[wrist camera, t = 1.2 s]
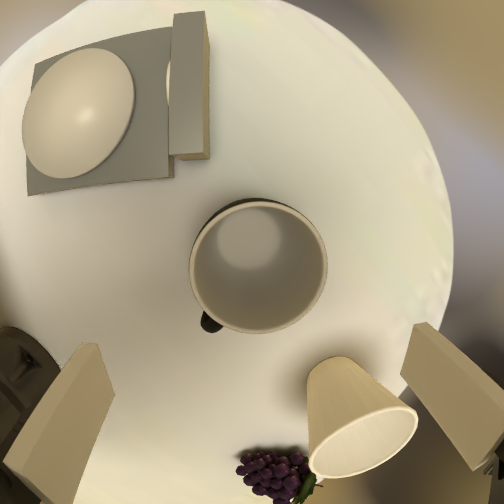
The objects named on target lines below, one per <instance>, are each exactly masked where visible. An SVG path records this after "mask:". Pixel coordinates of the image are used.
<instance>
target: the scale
mask: <svg viewBox="0 0 504 504" xmlns="http://www.w3.org/2000/svg"><path fill="white" fill-rule="evenodd" d="M22 139H23V145H24V149H25V151H26V166H27V192H28V196H32V195H38V194H44V193H50V192H55V191H61V190H67V189H74V188H80V187H87V186H94V185H101V184H109V183H117V182H126V181H135V180H145V179H156V178H168V177H174V157H176V158H179V159H182V160H199V159H210V152H209V39H208V32H207V24H206V17H205V11H198V12H187V13H178V14H174V19H173V27H165V28H158V29H152V30H146V31H141V32H136V33H131V34H126V35H122V36H118V37H114V38H110V39H106V40H102V41H99V42H95V43H92V44H88V45H85V46H82V47H79V48H76V49H73V50H70V51H67V52H64V53H62V54H59V55H56V56H54V57H51V58H49V59H46V60H44V61H42V62H39V63H37V64H35V68H34V74H33V80H32V87H31V94H30V96H29V99H28V101H27V104H26V107H25V111H24V115H23V121H22Z"/></svg>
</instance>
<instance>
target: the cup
mask: <svg viewBox="0 0 504 504" xmlns="http://www.w3.org/2000/svg"><path fill="white" fill-rule="evenodd" d="M307 402H308V430H309V462H308V465H309V467H310V470H311V471H312V472H313V473H315V474H316V475H318V476H321V477H325V478H342V477H349V476H353V475H356V474H359V473H363V472H365V471H367V470H370V469H372V468H374V467H376V466H378V465H380V464H382V463H383V462H385V461H387V460H388V459H389V458H391V457H392V456H393V455H395V454H396V453H397V452H398V451H399V450H401V448H403V447H404V446H405V445H406V444H407V442H408V441H409V440H410V438H411V437H412V436H413V434H414V432H415V430H416V428H417V424H418V416H417V413H416V411H415V410H413V409H412V408H410V407H409V406H407V405H406V404H405V403H403V402H402V401H401V400H399V399H398V398H397V397H396V396H395V395H393V394H392V393H391V392H390V391H389V390H387V389H386V388H385V387H384V386H382V385H381V384H380V383H379V382H378V381H376V380H375V379H374V378H373V377H372V376H370V375H369V374H368V373H367V372H366V371H364V370H363V369H362V368H361V367H360V366H358V365H357V364H356V363H355V362H354V361H352V360H351V359H350V358H347V357H341V356H337V357H332V358H329V359H326V360H324V361H322V362H321V363H319V364H318V365H316V366H315V367H314V368H313V369H312V371H311V372H310V373H309V375H308V378H307Z"/></svg>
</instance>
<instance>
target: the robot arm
mask: <svg viewBox="0 0 504 504" xmlns="http://www.w3.org/2000/svg"><path fill="white" fill-rule="evenodd" d="M400 375H401V376H402V377H403V379H404V380H405V381H406V382H407V384H408V385H409V386H410V387H411V389H412V390H413V391H414V392H415V394H416V395H417V396H418V398H419V399H420V400H421V401H422V403H423V404H424V405H425V407H426V408H427V409H428V411H429V412H430V413H431V415H432V416H433V417H434V419H435V420H436V421H437V423H438V424H439V425H440V427H441V428H442V429H443V431H444V432H445V433H446V435H447V436H448V437H449V439H450V440H451V441H452V443H453V444H454V446H455V447H456V448H457V450H458V451H459V453H460V454H461V455H462V457H463V458H464V460H465V461H466V462H467V464H468V465H469V467H470V468H471V470H472V471H473V470H475V469H477V468H478V467H479V466H481V465H482V464H484V463H485V462H486V461H487V460H488V459H489V458H490V456H491V455H492V454H493V453H494V452H495V453H496V455H497V456H496V457H495V458H494V459H493V461H492V462H491V463H490V464H489V465H488V466H487V468H486V469H485V470H484V473H483V474H486V473H487V472H488V471H489V470H490V468H492V466H493V469H492V470H491V471H490V473H489V475H492V481H491V489H490V496H489V502H488V504H504V384H503V383H502V382H501V383H500V381H499V380H498V379H497V378H496V377H495V376H494V375H493V374H491V373H490V372H488V371H485V370H484V369H480V368H479V367H478V366H477V365H476V364H475V363H474V362H472V361H471V360H470V359H469V358H468V357H467V356H466V355H465V354H463V353H462V352H461V351H460V350H459V349H458V348H457V347H455V346H454V345H453V344H452V343H451V342H450V341H448V340H447V339H446V338H445V337H444V336H443V335H441V334H440V333H439V332H438V331H437V330H436V329H434V328H433V327H432V326H431V325H430V324H428V323H427V322H424V323H419V324H414V325H413V329H412V333H411V337H410V341H409V345H408V349H407V352H406V356H405V359H404V363H403V366H402V369H401V373H400ZM114 396H115V393H114V391H113V388H112V385H111V383H110V380H109V377H108V374H107V371H106V369H105V366H104V363H103V360H102V357H101V353H100V350H99V347H98V344H91V343H82V344H81V345H80V346H79V348H78V349H77V350H76V351H75V353H74V354H73V355H72V357H71V358H70V359H69V361H68V362H67V364H66V365H65V366H64V368H63V369H62V370H61V371H60V369H59V367H58V366H57V364H56V363H55V361H54V360H53V359H52V357H51V356H50V355H49V354H48V353H47V351H46V350H45V349H44V348H43V347H42V346H41V345H40V344H39V343H38V342H36V341H35V340H34V339H33V338H32V337H30V336H29V335H27V334H26V333H24V332H22V331H21V330H18V329H16V328H12V327H4V328H1V329H0V504H40V502H41V501H42V502H43V503H45V504H73V501H74V498H75V495H76V492H77V489H78V486H79V483H80V480H81V478H82V475H83V472H84V469H85V467H86V464H87V461H88V459H89V456H90V454H91V451H92V448H93V446H94V443H95V441H96V438H97V436H98V433H99V431H100V429H101V426H102V424H103V421H104V419H105V417H106V414H107V412H108V410H109V407H110V405H111V403H112V400H113V398H114Z"/></svg>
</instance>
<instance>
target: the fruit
mask: <svg viewBox="0 0 504 504" xmlns="http://www.w3.org/2000/svg"><path fill="white" fill-rule="evenodd" d="M254 460H256V461H254ZM240 462H241V463H242V464H243V465H244V466H242V465H240V466H238V467H237V469H236V473H237V475H241V476H244V478H243V481H244V483H245V484H246V485H247V486H253V488H252V492H253V493H254V494H256V495H260V496H263V495H267V496H268V497H270V498H272V499H273V504H291V503H290V500H291V499H292V498H293V497H294V499H293V501H292V503H293V502H294V504H298V503H299V502H300V504H302V503H303V502H304V501H305V499H307V497H308V496H309V495H311V494H313V489H314V487H315V485H316V486H320V487H323V486H321V485H318V484H315V483H316V481H317V479H316V474H315V473H313V472H312V471H311V470H310V467H309V465H308V462H309V459H308V457H306V458H305V457H304V456H303V455H302V454H301V453H293V454H292V455H290V456H288V458H287V457H283V456H282V457H279V456H278V454H275V453H272V452H271V453H270V454H268V455H265V453H264V452H262V451H258V452H257V453H255V454H253V457H252V456H251V455H250V454H245V455H242V457H241V460H240ZM292 465H293V466H294V467H296V466H298V469H296V468H294V467H293V466H292ZM246 474H247V475H246Z"/></svg>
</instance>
